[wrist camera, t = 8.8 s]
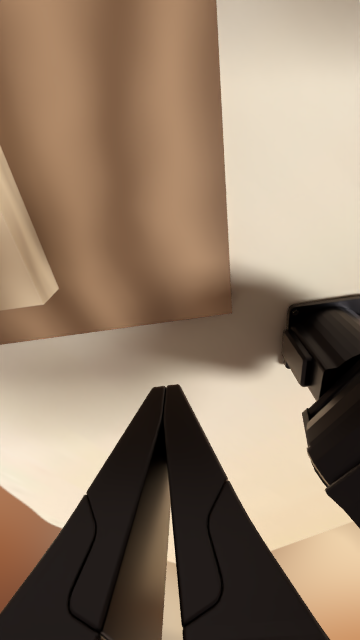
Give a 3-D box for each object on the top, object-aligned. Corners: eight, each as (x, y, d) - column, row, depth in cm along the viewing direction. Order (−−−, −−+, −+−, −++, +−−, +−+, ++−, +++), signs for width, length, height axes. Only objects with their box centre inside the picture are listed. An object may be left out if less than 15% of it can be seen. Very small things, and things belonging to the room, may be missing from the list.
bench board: (208, -36, 12) (213, -61, 11) (228, 304, 21) (232, 313, 20) (-251, 62, 14) (-296, 50, 12) (-49, 342, 22) (-62, 353, 21)
